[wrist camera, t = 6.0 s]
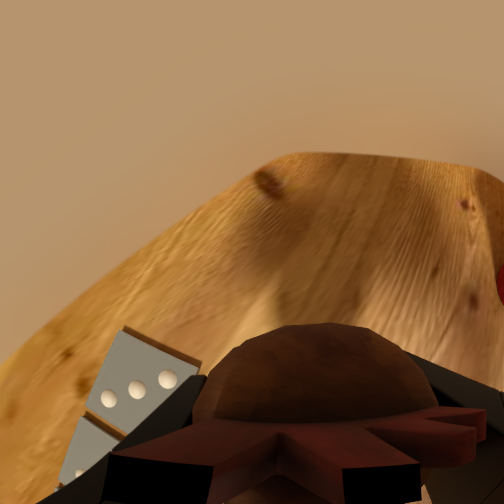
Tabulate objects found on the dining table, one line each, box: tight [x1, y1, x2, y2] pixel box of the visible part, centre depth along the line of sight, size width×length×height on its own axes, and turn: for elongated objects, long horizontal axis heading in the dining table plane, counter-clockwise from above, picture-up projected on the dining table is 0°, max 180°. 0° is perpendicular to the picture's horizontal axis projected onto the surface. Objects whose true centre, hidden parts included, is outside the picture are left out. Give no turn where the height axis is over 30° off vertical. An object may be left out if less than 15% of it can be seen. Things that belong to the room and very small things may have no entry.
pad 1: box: [58, 416, 121, 485], centre depth 15 cm, size 7×7×1 cm
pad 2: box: [85, 330, 200, 434], centre depth 19 cm, size 7×7×1 cm
